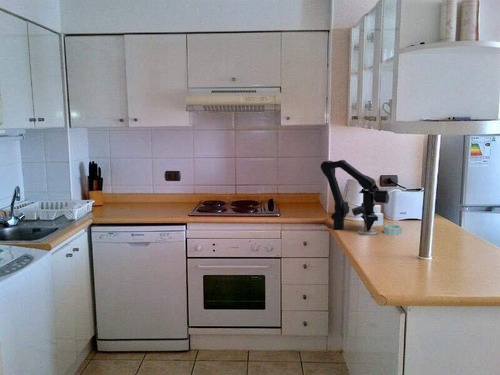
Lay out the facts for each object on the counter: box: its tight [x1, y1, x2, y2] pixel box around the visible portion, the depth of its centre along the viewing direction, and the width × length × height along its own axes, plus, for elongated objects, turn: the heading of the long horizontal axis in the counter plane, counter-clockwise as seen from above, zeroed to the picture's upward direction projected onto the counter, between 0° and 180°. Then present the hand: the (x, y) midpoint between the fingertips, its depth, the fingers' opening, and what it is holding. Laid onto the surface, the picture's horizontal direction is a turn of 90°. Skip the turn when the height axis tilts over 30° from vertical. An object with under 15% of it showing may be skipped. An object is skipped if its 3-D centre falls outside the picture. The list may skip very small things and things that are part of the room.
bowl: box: [383, 224, 403, 236], centre depth 234 cm, size 9×9×4 cm
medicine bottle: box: [372, 203, 384, 227], centre depth 254 cm, size 7×7×12 cm
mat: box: [356, 229, 380, 236], centre depth 236 cm, size 10×10×1 cm
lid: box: [357, 222, 378, 236], centre depth 236 cm, size 10×10×5 cm
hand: (367, 230), depth 236 cm, fingers closed on lid, 3 cm apart
